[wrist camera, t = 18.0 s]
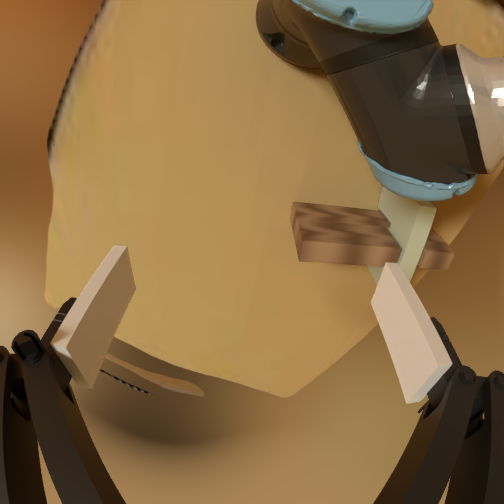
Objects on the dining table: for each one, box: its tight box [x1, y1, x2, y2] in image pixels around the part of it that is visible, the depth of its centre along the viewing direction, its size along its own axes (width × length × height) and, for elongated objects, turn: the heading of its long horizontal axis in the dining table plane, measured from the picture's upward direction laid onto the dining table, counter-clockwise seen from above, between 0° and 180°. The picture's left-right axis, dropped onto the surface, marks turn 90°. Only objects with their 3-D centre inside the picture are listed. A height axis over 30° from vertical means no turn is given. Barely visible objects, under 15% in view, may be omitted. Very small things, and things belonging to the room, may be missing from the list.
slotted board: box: [290, 202, 455, 270], centre depth 41 cm, size 24×3×12 cm, turn 86°
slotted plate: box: [367, 186, 437, 285], centre depth 41 cm, size 16×3×12 cm, turn 177°
